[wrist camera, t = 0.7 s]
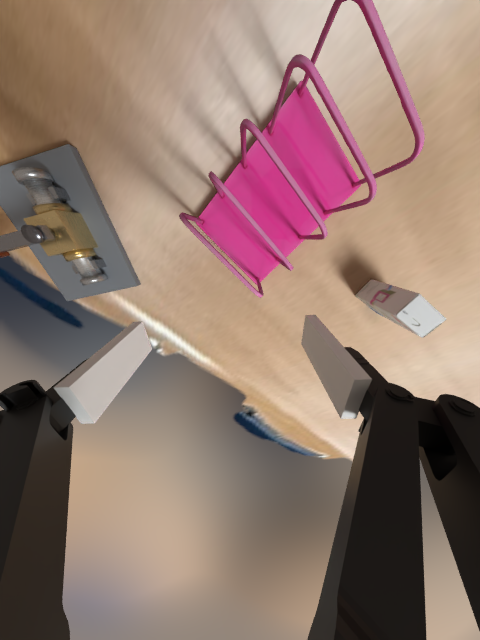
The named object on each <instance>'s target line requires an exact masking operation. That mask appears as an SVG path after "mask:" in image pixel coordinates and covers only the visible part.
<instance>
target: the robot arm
mask: <svg viewBox="0 0 480 640" xmlns="http://www.w3.org/2000/svg"><path fill="white" fill-rule="evenodd" d="M302 346H303V348H304V350H305V352H306V354H307V356H308V357H309V359H310V361H311V363H312V365H313V367H314V369H315V371H316V373H317V374H318V376H319V378H320V380H321V382H322V384H323V386H324V388H325V390H326V391H327V393H328V395H329V397H330V399H331V401H332V403H333V405H334V407H335V409H336V410H337V412H338V414H339V416H340V418H341V419H350V418H356V417H357V415H358V412H359V411H360V413H361V414H362V416H363V417H364V420H363V422H362V424H361V426H360V429H359V432H360V434H359V438H358V442H357V447H356V451H355V455H354V459H353V463H352V467H351V471H350V476H349V480H348V484H347V488H346V492H345V496H344V500H343V505H342V509H341V513H340V517H339V521H338V525H337V530H336V534H335V538H334V542H333V546H332V550H331V554H330V558H329V563H328V567H327V571H326V575H325V579H324V583H323V588H322V592H321V596H320V600H319V604H318V608H317V611H316V615H315V617H314V620H313V623H312V627H311V630H310V633H309V636H308V640H426V617H425V591H424V565H423V541H422V540H423V538H422V514H421V487H420V460H421V462H422V466H423V468H424V471H425V474H426V477H427V480H428V483H429V486H430V489H431V492H432V494H433V497H434V500H435V503H436V506H437V509H438V512H439V514H440V518H441V521H442V524H443V526H444V529H445V532H446V535H447V538H448V541H449V544H450V547H451V550H452V552H453V555H454V558H455V561H456V564H457V567H458V570H459V573H460V576H461V579H462V581H463V584H464V587H465V590H466V593H467V596H468V599H469V601H470V605H471V607H472V610H473V613H474V616H475V619H476V622H477V625H478V628H479V631H480V408H479V407H477V406H476V405H474V404H473V403H471V402H469V401H467V400H465V399H463V398H460V397H457V396H454V395H448V394H443V395H440V396H439V397H438V398H437V400H436V401H432V400H427V399H422V398H417V397H414V396H413V395H412V394H411V393H410V392H409V391H407V390H406V389H405V388H403V387H400V386H398V385H395V384H392V383H388V382H387V381H386V380H385V379H384V378H383V377H382V376H381V375H380V374H379V372H378V371H377V370H376V369H375V368H374V367H373V366H372V365H371V364H369V362H368V361H367V360H366V359H365V358H364V357H363V356H362V355H361V354H360V353H359V352H358V351H356V350H354V349H353V348H351V347H343V346H342V345H341V343H340V342H339V341H338V340H337V339H336V338H335V337H334V336H333V334H332V333H331V332H330V331H329V330H328V329H327V328H326V326H325V325H324V324H323V323H322V322H321V321H320V320H319V319H318V317H317V316H316V315H305V322H304V329H303V336H302ZM151 350H152V347H151V344H150V342H149V339H148V336H147V333H146V330H145V327H144V324H143V322H133V323H132V324H130V325H129V326H128V327H127V328H125V329H124V330H123V331H122V332H121V333H119V334H118V335H117V336H116V337H114V338H113V339H112V340H111V341H110V342H108V343H107V344H106V345H105V346H104V347H102V348H101V349H100V350H99V351H97V352H96V353H95V354H94V355H93V356H91V357H90V358H89V359H87V360H85V361H83V362H82V363H81V364H80V365H78V366H77V367H76V369H73V370H72V371H71V372H70V373H69V374H67V375H66V376H65V377H63V378H62V379H61V380H60V381H59V382H57V383H56V384H55V385H53V386H52V387H51V388H50V389H49V390H47V391H46V392H45V390H44V389H43V388H42V387H41V386H40V384H39V383H38V382H37V381H35V380H28V381H24V382H20V383H18V384H16V385H13V386H11V387H9V388H7V389H6V390H4V391H3V392H1V393H0V406H1V407H2V408H3V409H4V410H2V411H0V640H70V631H69V625H68V620H67V618H66V615H65V613H64V610H63V605H62V594H63V578H64V563H65V547H66V532H67V516H68V500H69V484H70V469H71V454H72V438H73V425H72V424H71V421H72V420H73V419H74V418H75V417H76V418H77V419H78V420H79V421H80V423H81V424H83V423H95V422H96V421H97V420H98V418H99V417H100V416H101V414H102V413H103V412H104V410H105V409H106V408H107V407H108V405H109V404H110V403H111V401H112V400H113V399H114V398H115V396H116V395H117V394H118V392H119V391H120V390H121V389H122V387H123V386H124V385H125V383H126V382H127V381H128V380H129V378H130V377H131V376H132V374H133V373H134V372H135V371H136V369H137V368H138V367H139V365H140V364H141V363H142V362H143V360H144V359H145V358H146V356H147V355H148V354H149V353H150V351H151ZM419 457H420V460H419Z"/></svg>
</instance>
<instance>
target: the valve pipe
mask: <svg viewBox="0 0 480 640" xmlns="http://www.w3.org/2000/svg"><path fill="white" fill-rule="evenodd" d="M12 173H13V175H14V177H15V178H16V180H17V181H18V183H19V184H21V185H24V186H25V187H26V189H27V190H28V192H29V193H28V194H26V195H27V197H28V198H29V200H30V202H31V203H32V205H35V206H34V207H33V210H34V211H35V213H36V214H37V215H35V216H31V217H28V218H24V221H25V222H26V224H27V225H34V226H38V225H47V227H48V228H49V229H51V230H52V231H53V232H54V233H55V235H56V239H55V240H54V241H45V242H43V243H40V245H41V246H42V248H43V249H44V251H45V252H46V254H47V255H48V256H56V255H63V257H64V259H65V260H66V262H70V261H71V262H72V263H73V266H71V267H72V269H73V270H74V272H75V273H76V274H77V273H79V275H80V276H81V278H82V279H80V282H81V283H82V285H83V286H84V285H89V284H93V283H97V282H100V281H104V280H107V279H108V277H107V275H106V273H104V274H103V273H102V272H101V270H100V268H103V267H107V266H106V264H105V262H104V260H103V259H99V260H95V259H94V256H97V255H96V253H95V251H94V249H93V248H97V247H98V245H97V243H96V241H95V240H94V238H93V236H92V234H91V232H90V230H89V228H88V226H87V224H86V223H85V221H84V219H83V217H82V215H81V213H74V212H73V211H72V209H71V207H70V206H69V205H67V204H63V202H67V201H70V200H71V199H70V197H69V195H68V193H67V191H66V190H65V189H61V188H58V187H54V186H53V184H54V183H55V181H54V179H53V177H52V175H51V173H50V172H48V171H46V170H44V169H40V168H33V167H22V168H16V169H14V170H12Z"/></svg>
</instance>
